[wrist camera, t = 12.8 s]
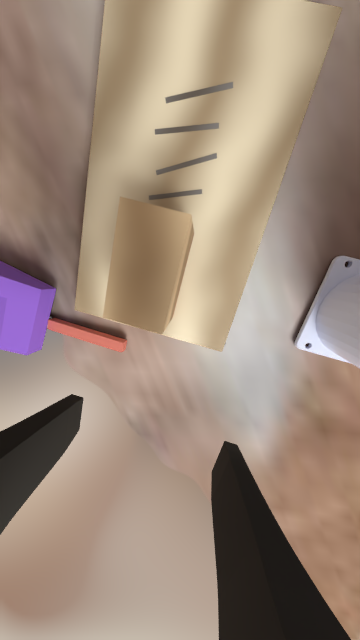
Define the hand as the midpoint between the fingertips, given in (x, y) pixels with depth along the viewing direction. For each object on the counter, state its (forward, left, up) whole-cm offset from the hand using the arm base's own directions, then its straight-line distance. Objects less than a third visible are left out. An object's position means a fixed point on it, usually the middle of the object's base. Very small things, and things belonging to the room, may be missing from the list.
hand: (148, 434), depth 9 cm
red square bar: (+9, 0, -9) cm, 13 cm away
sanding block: (+3, -7, -8) cm, 11 cm away
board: (+3, -13, -9) cm, 16 cm away
